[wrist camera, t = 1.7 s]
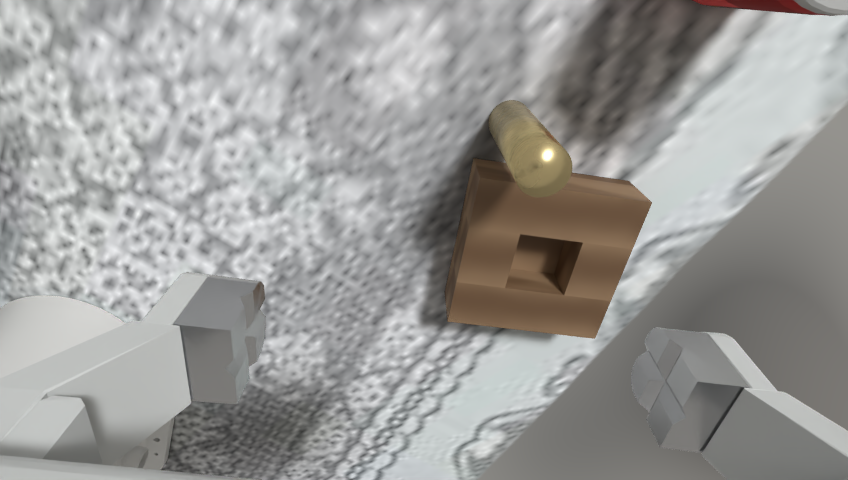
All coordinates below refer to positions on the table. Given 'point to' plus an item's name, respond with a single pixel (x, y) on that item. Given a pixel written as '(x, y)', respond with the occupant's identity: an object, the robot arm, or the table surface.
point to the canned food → (785, 6)
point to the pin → (529, 150)
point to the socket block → (541, 252)
